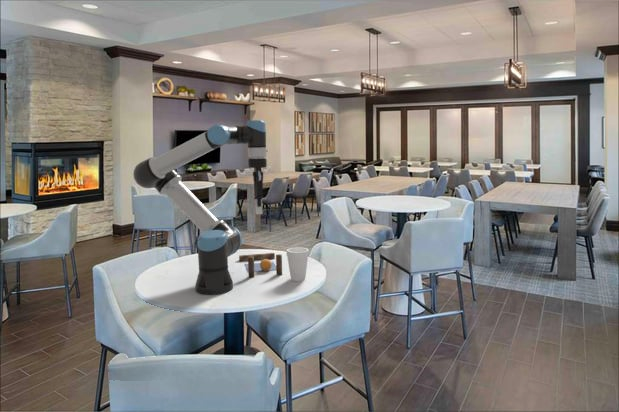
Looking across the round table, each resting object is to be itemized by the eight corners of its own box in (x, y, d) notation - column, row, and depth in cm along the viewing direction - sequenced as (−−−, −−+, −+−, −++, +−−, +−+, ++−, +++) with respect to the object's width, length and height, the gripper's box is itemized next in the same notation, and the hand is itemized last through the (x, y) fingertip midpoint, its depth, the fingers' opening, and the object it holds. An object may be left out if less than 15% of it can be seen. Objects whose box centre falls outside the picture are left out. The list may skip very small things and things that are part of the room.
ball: (260, 257, 207) (259, 261, 212) (260, 268, 205) (259, 272, 210) (272, 257, 208) (271, 261, 213) (272, 268, 206) (271, 272, 210)
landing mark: (248, 272, 207) (248, 272, 207) (245, 264, 220) (245, 264, 220) (278, 270, 210) (278, 269, 210) (273, 262, 223) (273, 261, 223)
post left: (248, 277, 199) (248, 258, 197) (248, 276, 201) (247, 256, 200) (254, 277, 199) (254, 257, 198) (254, 275, 202) (253, 256, 200)
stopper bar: (239, 261, 226) (239, 256, 226) (239, 260, 228) (239, 255, 228) (274, 258, 231) (274, 253, 230) (274, 257, 233) (274, 252, 232)
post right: (277, 275, 202) (276, 255, 200) (276, 273, 204) (275, 254, 203) (282, 274, 202) (282, 255, 201) (281, 273, 205) (281, 254, 203)
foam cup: (306, 282, 191) (305, 253, 189) (285, 281, 192) (284, 252, 190) (310, 276, 200) (310, 247, 198) (290, 275, 202) (289, 247, 200)
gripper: (268, 158, 181) (270, 215, 185) (264, 157, 194) (265, 211, 197) (250, 158, 179) (252, 216, 183) (246, 157, 192) (248, 212, 195)
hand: (259, 213), depth 190 cm, fingers closed
